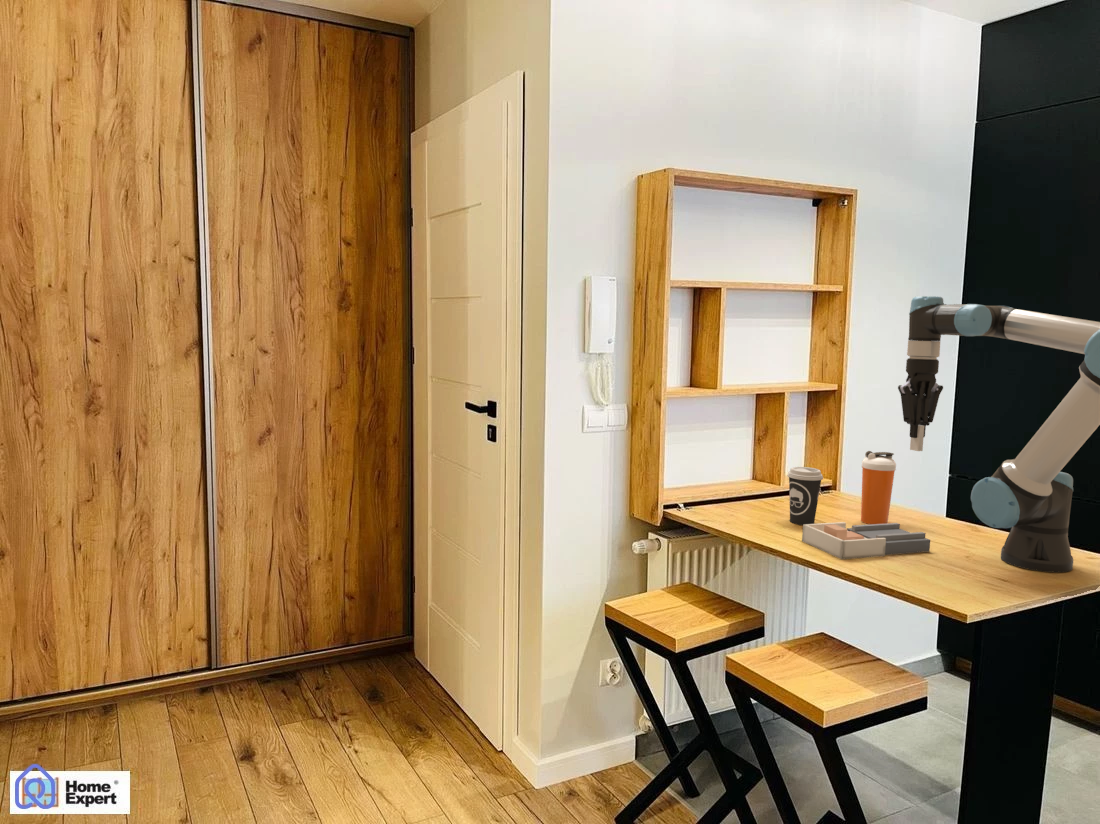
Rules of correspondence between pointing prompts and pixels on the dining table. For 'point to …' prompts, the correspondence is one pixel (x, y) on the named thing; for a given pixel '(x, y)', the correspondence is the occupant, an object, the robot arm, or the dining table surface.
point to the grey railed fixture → (894, 537)
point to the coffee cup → (804, 494)
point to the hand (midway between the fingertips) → (916, 450)
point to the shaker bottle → (877, 487)
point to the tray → (842, 543)
